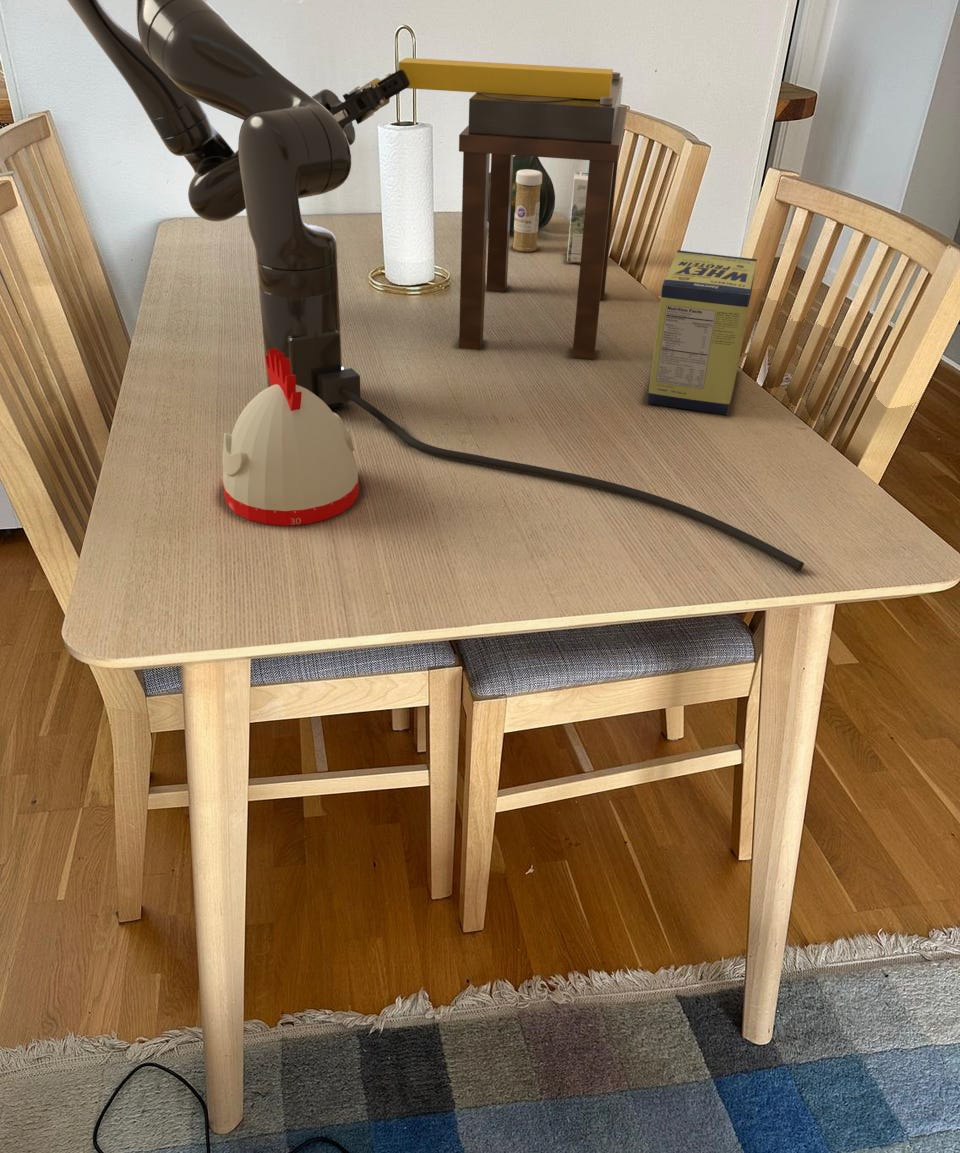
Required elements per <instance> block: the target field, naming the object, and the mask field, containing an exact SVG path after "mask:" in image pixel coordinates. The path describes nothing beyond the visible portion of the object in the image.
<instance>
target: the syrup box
mask: <svg viewBox="0 0 960 1153" xmlns="http://www.w3.org/2000/svg"><path fill="white" fill-rule="evenodd" d="M588 172H589V171H574V173H573V184H572V194H571V206H570V218H569V221H570V222H569V228H568V229H569V230H568V242H567V256H566V263H568V264H579V265H580V262H581V251H582V240H583V228H584V217H585V206H586V194H587V183H588Z"/></svg>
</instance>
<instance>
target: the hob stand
mask: <svg viewBox="0 0 960 1153" xmlns="http://www.w3.org/2000/svg"><path fill="white" fill-rule="evenodd" d="M623 82H624V77H623V76H621V72H617V71H613V73H612V84H611V95H610V96H601V97H600V100H596V99H579V98H562V97H545V96H528V95H511V94H494V93H477V92H474V93H473V95H472V96H471V97H470V98H469V100H468V124H467V126H466V127H465V128H464V129H463V130H461V132H460V133H459V135H458V152H460V153H462V154H463V155H462V195H461V196H462V197H461V198H462V199H461V241H460V280H459V281H460V282H459V288H460V289H459V327H458V328H459V329H458V348H460V349H469V350H470V349H471V350H481V347H482V345H483V343H484V326H485V301H486V300H485V298H486V296H485V295H486V291H487V292H499V293H505V292H506V290H507V288H508V269H509V251H510V250H509V249H510V233H509V232H510V212H511V191H512V171H513V156H515V155H518V156H532V157H538V158H547V159H549V158H550V159H564V160H578V161H588V162H589V163H588V171H587V172H588V183H587V194H586V206H585V217H584V228H583V240H582V251H581V262H580V264H579V276H578V287H577V295H576V296H577V298H576V307H575V319H574V333H573V342H572V344H573V345H572V356H571V358H572V359H573V358H574V359H584V360H594V359H595V353H596V344H597V334H598V327H599V326H598V324H599V315H600V305H601V301H604V298H605V292H606V282H607V272H608V262H609V253H610V245H611V244H610V242H611V233H612V224H613V214H614V205H615V197H616V196H615V195H616V186H617V176H618V165H619V157H620V151H621V147H622V141H623V136H624V132H625V127H626V122H627V121H626V120H627V114H628V106H621V103H622V93H623ZM490 155H491V156H490ZM490 172H491V177H490V204H489V222H487V219H488V191H489V173H490Z"/></svg>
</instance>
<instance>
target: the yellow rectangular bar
mask: <svg viewBox="0 0 960 1153" xmlns="http://www.w3.org/2000/svg"><path fill="white" fill-rule="evenodd" d="M400 69H402V70H404V71H405V73H406V75H407V77H408V79H409V81H410V86H409V87H407V88H406V89H408V90H409V89H411V90H429V91H430V90H431V91H444V92H460V93H494V94H511V95H528V96H545V97H562V98H579V99H596V100H600V97H601V96H610V95H611V84H612V73H613V72H614V69H612V68H595V67H577V66H559V65H544V64H543V65H542V64H524V63H523V64H522V63H507V62H505V63H504V62H490V61H489V62H486V61H470V60H452V59H433V58H413V57H405V58H403V59H402V60H400V61H398V70H400Z"/></svg>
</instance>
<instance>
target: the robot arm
mask: <svg viewBox="0 0 960 1153" xmlns="http://www.w3.org/2000/svg"><path fill="white" fill-rule="evenodd" d="M66 1H67V2H68V4H69V5H70V7H71V8H72V9H73V11H74V12H75V13H76V15H77V16H78V17H79V19H80V20H81V22H82V24H84V26H85V27H86V29H87V30H88V32H89V33H90V34H91V36H92V37H93V39H94V40H95V42H96V43H97V45H98V46H99V47H100V48H101V50H102V51H103V52H104V54H105V55H106V57H107V58H108V59H109V61H111V63H112V64H113V66H114V67H115V68H116V70H117V71H118V72H119V74H120V75H121V77H122V78H123V79H124V81H125V82H126V83H127V85H128V86H129V88H130V89H131V91H132V93H133V94H134V95H135V97H136V99H137V101H138V102H139V104H140V105H141V107H142V108H143V111H144V112H145V114H146V115H147V117H148V119H149V121H150V123H151V124H152V126H153V127H154V129H155V131H156V133H157V134H158V136H159V137H160V140H161V141H162V143H163V144H164V146H165V147H166V148H167V150H168V152H170V153H171V154H173V155H174V156H177V157H184V158H185V160H186V161H187V162H188V164H189V165H190V166H191V168H192V169H193V171H194V172H193V173H194V175H193V177H192V179H191V180H190V183H189V185H188V191H187V197H188V198H187V199H188V202H189V205H190V207H191V209H192V210H193V212H194V213H195V215H197V216H198V217H199V218H201V219H203V220H205V221H209V222H212V223H213V222H215V223H216V222H224V221H227V220H230V219H233V218H234V217H236V216H238V215H239V214H240V213H242V212H243V211H245V212H246V214H245V215H246V220H247V227H248V230H249V234H250V237H251V239H252V242H253V245H254V249H255V250H254V251H255V258H256V259H255V260H256V265H257V266H256V268H257V279H258V280H257V281H258V291H259V304H260V316H261V327H262V338H263V348H264V349H263V350H264V356H265V355H269V349H273V348H278V352H279V353H284V357H285V358H289V361H290V369H291V375H294V374H295V375H296V385H298V386H301V387H303V388H305V389H307V390H309V391H310V392H312V393H313V394H315V395H316V396H317V397H319V398H320V399H321V400H322V401H323V402H324V403H325V404H326V405H327V406H328V407H329V408H330V409H331V410H333V409H336V408H341V407H343V406H344V403H345V402H350V401H351V402H353V403H354V404H355V405H357V406H358V407H360V408H362V409H363V410H364V411H365V412H366V413H369V414H370V415H371V416H372V417H374V418H375V419H376V420H378V421H379V422H380V423H381V424H383V425H384V426H386V427H387V428H389V430H391V431H392V432H393V433H395V434H396V436H398V437H399V438H400V439H401V440H402V441H403V442H404V443H406V444H407V445H409V446H411V447H412V448H415V449H417V450H419V451H421V452H425V453H427V454H430V455H434V456H438V457H440V458H441V457H442V458H446V459H451V460H457V461H463V462H468V463H474V464H478V465H484V466H489V467H493V468H499V469H503V470H508V471H514V472H515V471H516V472H519V473H520V472H521V473H526V474H531V475H536V476H542V477H546V478H551V479H556V480H561V481H566V482H570V483H575V484H581V485H584V486H589V487H593V488H597V489H601V490H605V491H608V492H609V491H610V492H613V493H616V494H621V495H624V496H627V497H631V498H634V499H638V500H641V501H645V502H648V503H652V504H653V505H657V506H659V507H662V508H665V509H668V510H671V511H674V512H676V513H679V514H681V515H684V516H686V517H689V518H692V519H694V520H696V521H699V522H701V523H703V524H705V525H708V526H709V527H712V528H714V529H716V530H718V531H720V532H722V533H725V534H727V535H729V536H731V537H734V538H735V539H737V540H740V541H742V542H743V543H746V544H747V545H749V546H751V547H754V548H755V549H757V550H759V551H761V552H763V553H765V554H767V555H768V556H770V557H772V558H774V559H776V560H778V561H780V562H782V563H783V564H785V565H787V566H789V567H791V568H792V569H795V570H796V571H799V572H800V571H801V570H802V569H803V568H804V565H805V563H804V562H803V561H801V560H800V559H797V558H795V556H792V555H790V554H788V553H786V552H784V551H783V550H781V549H779V548H777V547H776V546H773V545H772V544H769V543H767V542H765V541H763V540H761V539H759V538H757V537H756V536H754V535H751V534H749V533H747V532H745V531H743V530H741V529H739V528H737V527H735V526H733V525H731V524H728V523H726V522H724V521H722V520H720V519H717V518H716V517H713V516H711V515H708V514H707V513H704V512H702V511H699V510H698V509H695V508H692V507H689V506H687V505H684V504H682V503H679V502H677V501H674V500H671V499H668V498H665V497H662V496H659V495H658V494H657V495H656V494H653V493H650V492H647V491H645V490H640V489H637V488H633V487H630V486H626V485H622V484H619V483H615V482H611V481H607V480H604V479H600V478H595V477H591V476H587V475H582V474H577V473H572V472H567V471H564V470H563V471H562V470H558V469H552V468H548V467H542V466H537V465H532V464H527V463H522V462H517V461H511V460H504V459H499V458H494V457H489V456H485V455H484V456H483V455H479V454H473V453H468V452H462V451H457V450H451V449H448V448H447V449H446V448H443V447H442V448H441V447H438V446H435V445H432V444H428V443H426V442H423V441H420V440H418V439H416V438H414V437H413V436H411V434H409V433H407V432H406V431H405V430H404V429H403V428H402V427H401V426H400V425H398V423H396V422H395V421H394V420H392V419H391V418H390V417H389V416H387V415H385V414H384V413H383V412H381V410H379V409H378V408H377V407H375V406H374V405H372V404H371V403H370V402H368V401H367V400H365V399H364V398H362V395H361V394H362V393H361V375H360V374H359V373H358V372H357V371H356V370H354V369H353V368H352V367H350V368H345V369H344V366H343V358H342V333H341V314H340V311H341V310H340V292H339V289H340V288H339V268H338V245H337V238H336V236H335V235H334V233H333V232H332V231H330V230H328V229H327V228H325V227H322V226H319V225H315V224H311V223H307V222H304V221H303V217H302V213H301V206H300V200H299V199H304V198H308V197H309V198H310V197H313V196H319V195H324V194H326V193H329V192H332V191H334V190H336V189H338V188H340V187H341V186H342V185H343V184H344V183H345V182H346V181H347V180H348V178H349V176H350V173H351V170H352V163H353V162H352V150H351V146H352V145H353V144H354V143H355V141H356V129H355V126H354V124H353V121H356V123H357V125H359V124H361V123H363V122H364V121H366V120H368V119H369V118H370V117H372V116H374V114H375V113H376V112H377V111H379V110H380V109H382V108H384V107H385V106H387V105H388V104H389V103H390V99H391V98H392V97H394V96H397V95H399V94H401V92H403V91H404V90H406V89H408V88H407V87H409V86H410V81H409V79H408V77H407V75H406V73H405V71H404V70H402V69H400V70H399V69H398V70H397V71H394V72H392V73H388V74H386V75H385V77H384V78H382V79H379V78H374V79H372V80H370V81H369V82H366V83H365V84H363V85H362V86H360V85H359V86H356V87H354V88H353V89H351V90H349V91H347V92H346V93H344V94H343V95H342V97H343V99H344V101H342V100H341V99H339V97H338V95H337V94H336V93H335V92H333V91H332V90H330V89H328V88H327V89H326V88H325V89H322V90H320V91H319V92H316V93H315V94H314V95H312V96H311V95H310V94H308V93H307V92H305V91H304V90H303V89H302V88H300V87H299V86H297V85H296V84H295V83H294V82H292V81H291V80H290V79H289V78H287V77H286V76H285V75H283V74H282V73H281V72H280V71H278V70H277V69H276V68H275V67H274V66H273V65H272V64H271V63H269V61H267V59H266V58H264V57H263V56H262V55H261V54H260V53H259V52H258V51H257V50H256V49H255V48H254V47H253V46H252V45H250V43H249V42H247V41H246V40H245V39H244V38H243V37H242V36H241V35H240V34H239V33H238V32H237V31H236V30H235V29H234V28H233V27H232V26H231V25H230V23H228V21H227V20H226V19H225V18H224V17H223V16H222V14H220V13H219V12H218V11H217V10H216V9H215V8H214V7H213V6H212V5H211V4H210V3H209V2H208V1H207V0H136V26H137V32H138V37H139V39H138V38H136V37H135V36H133V35H132V34H131V33H130V32H128V30H126V29H125V28H123V27H122V26H121V25H120V24H119V23H118V22H117V21H115V19H114V18H112V16H111V15H110V14H109V13H108V11H107V10H106V8H105V7H104V6H103V4H102V3H101V1H100V0H66ZM202 103H203V104H206V105H207V106H209V107H212V108H213V109H216V110H219V111H221V112H224V113H226V114H228V115H231V116H233V117H236V118H237V119H240V120H242V124H241V126H240V129H239V134H238V143H237V144H238V145H237V150H236V151H235V150H234V149H233V148H232V146H230V144H229V143H228V142H227V140H226V139H225V138H224V137H223V135H222V134H221V133H220V132H219V131H218V130H217V129H216V128H215V127H214V125H213V124H212V122H211V121H210V120H211V119H210V118H209V117H208V114H207V113H206V111H205V109H204V107H203V104H202ZM264 362H265V364H266V361H265V360H264ZM265 371H266V384H267V388H268V387H270V386H271V385H270V380H269V375H268V371H267V366H266V365H265Z"/></svg>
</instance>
